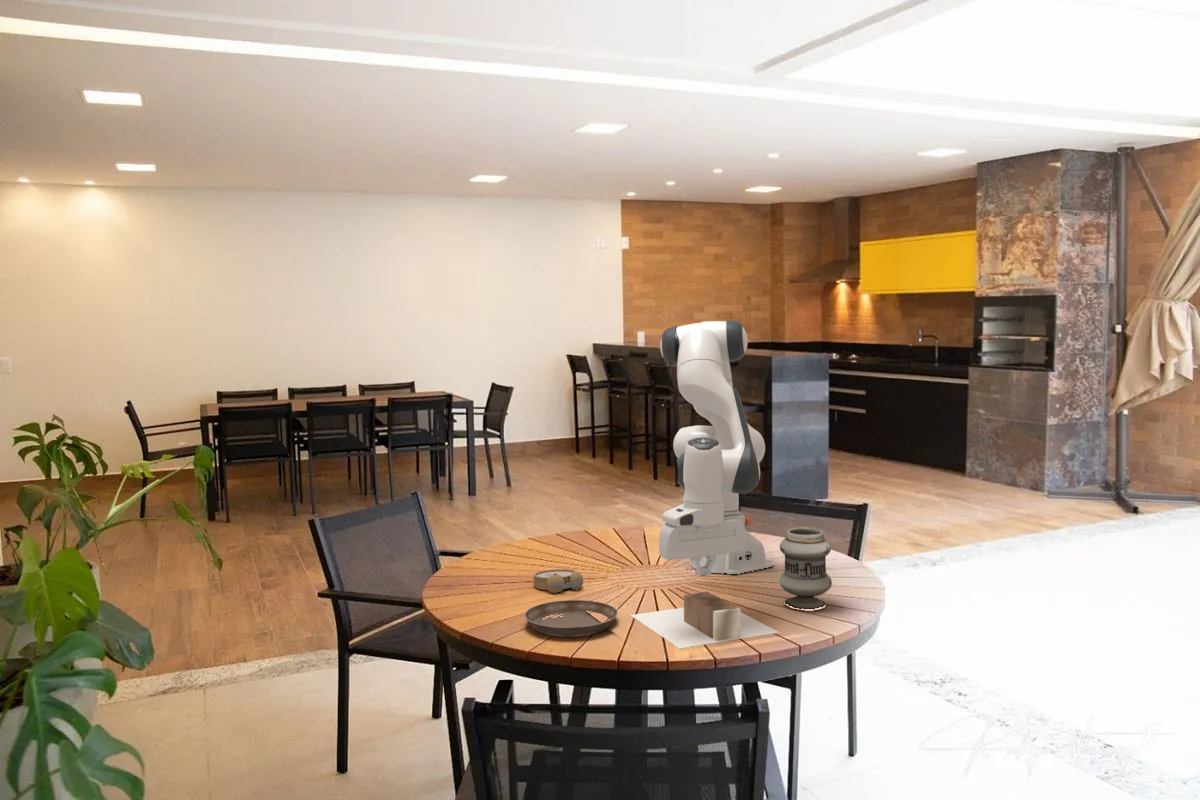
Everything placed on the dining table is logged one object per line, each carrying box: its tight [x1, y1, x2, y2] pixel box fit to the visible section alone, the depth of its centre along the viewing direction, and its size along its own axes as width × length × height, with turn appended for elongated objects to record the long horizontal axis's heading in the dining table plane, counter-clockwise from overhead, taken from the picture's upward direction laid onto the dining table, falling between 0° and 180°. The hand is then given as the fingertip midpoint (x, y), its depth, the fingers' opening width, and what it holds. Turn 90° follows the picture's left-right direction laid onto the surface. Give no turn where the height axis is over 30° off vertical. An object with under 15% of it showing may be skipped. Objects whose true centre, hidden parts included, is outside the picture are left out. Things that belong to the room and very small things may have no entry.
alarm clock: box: [532, 568, 584, 594], centre depth 236 cm, size 11×5×15 cm
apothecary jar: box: [779, 527, 833, 609], centre depth 219 cm, size 12×12×18 cm
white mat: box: [629, 607, 780, 650], centre depth 204 cm, size 24×24×1 cm
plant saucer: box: [524, 599, 619, 638], centre depth 206 cm, size 21×21×3 cm
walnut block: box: [683, 591, 742, 641], centre depth 200 cm, size 6×6×14 cm
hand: (703, 575), depth 202 cm, fingers closed
